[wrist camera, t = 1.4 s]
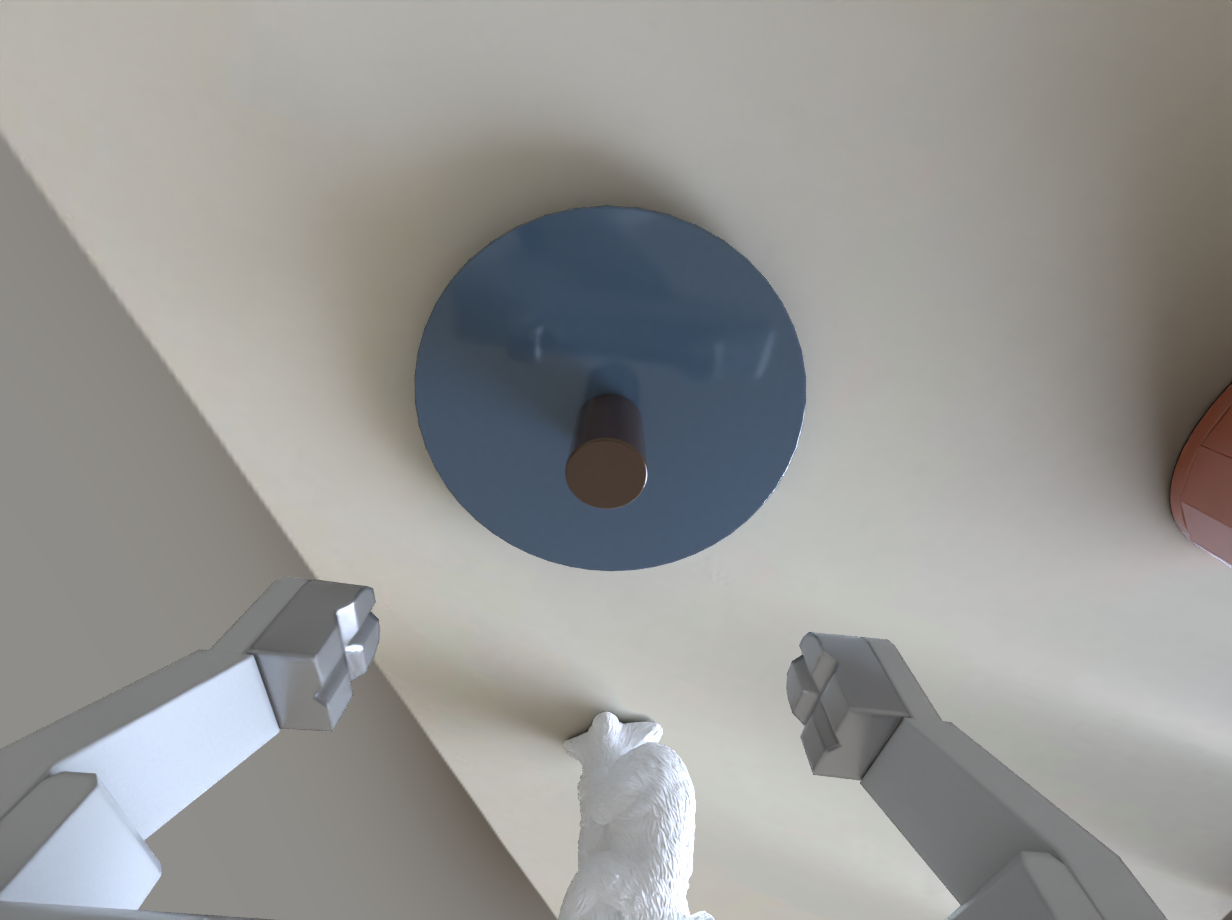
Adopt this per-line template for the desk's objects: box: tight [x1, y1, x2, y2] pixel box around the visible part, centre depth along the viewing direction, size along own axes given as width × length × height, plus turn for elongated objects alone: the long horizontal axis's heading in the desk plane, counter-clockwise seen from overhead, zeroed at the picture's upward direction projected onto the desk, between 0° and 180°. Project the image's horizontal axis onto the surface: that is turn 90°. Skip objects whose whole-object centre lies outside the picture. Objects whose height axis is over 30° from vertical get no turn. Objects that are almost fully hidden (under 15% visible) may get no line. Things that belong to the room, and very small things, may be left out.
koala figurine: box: [558, 711, 715, 920], centre depth 22 cm, size 8×7×12 cm
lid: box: [415, 205, 806, 571], centre depth 15 cm, size 14×14×5 cm
